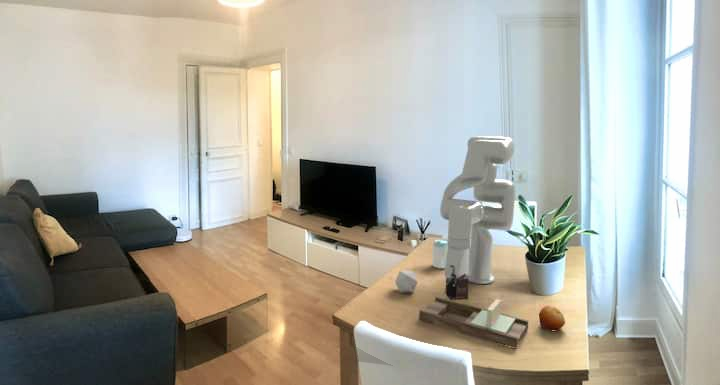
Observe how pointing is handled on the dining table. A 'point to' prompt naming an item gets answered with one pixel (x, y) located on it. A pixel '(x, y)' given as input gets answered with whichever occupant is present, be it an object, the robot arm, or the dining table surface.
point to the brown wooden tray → (461, 317)
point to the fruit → (551, 318)
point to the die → (406, 281)
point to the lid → (494, 319)
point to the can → (440, 253)
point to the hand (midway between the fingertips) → (456, 292)
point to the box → (460, 288)
